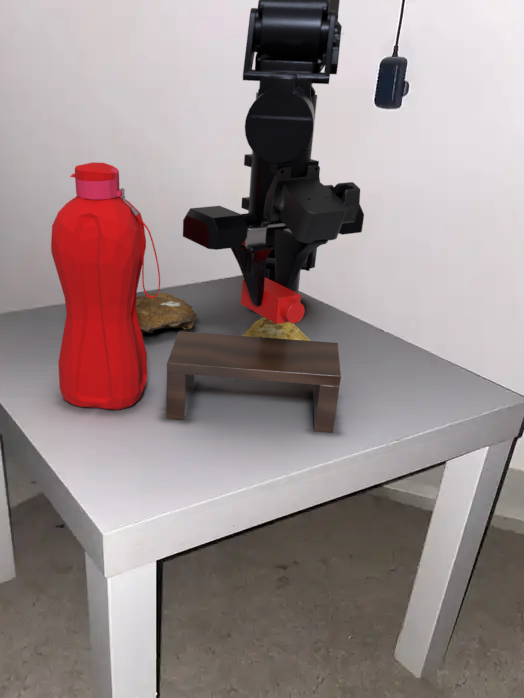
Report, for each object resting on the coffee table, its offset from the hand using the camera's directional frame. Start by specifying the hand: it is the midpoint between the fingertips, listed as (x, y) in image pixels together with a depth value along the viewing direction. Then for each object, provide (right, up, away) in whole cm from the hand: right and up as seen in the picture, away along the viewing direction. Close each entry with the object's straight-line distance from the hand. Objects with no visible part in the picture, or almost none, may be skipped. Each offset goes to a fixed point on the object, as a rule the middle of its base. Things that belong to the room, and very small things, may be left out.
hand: (269, 303), depth 82 cm
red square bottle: (0, -1, 0) cm, 1 cm away
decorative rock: (-15, +1, +24) cm, 28 cm away
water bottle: (-17, -9, +6) cm, 21 cm away
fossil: (+2, -3, +17) cm, 18 cm away
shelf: (-2, -11, +5) cm, 12 cm away
